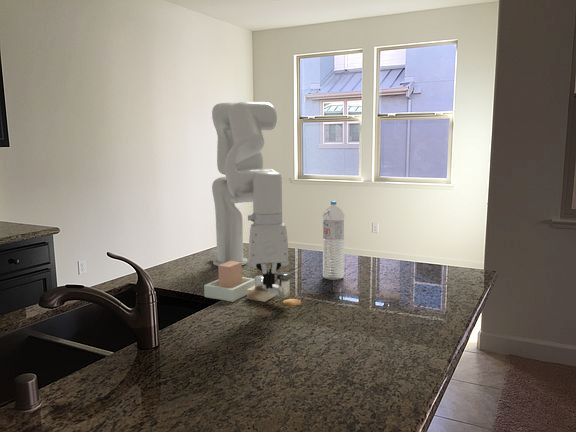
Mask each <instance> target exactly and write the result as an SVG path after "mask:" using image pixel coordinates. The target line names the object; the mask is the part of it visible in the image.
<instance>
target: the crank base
mask: <svg viewBox="0 0 576 432" xmlns="http://www.w3.org/2000/svg"><path fill="white" fill-rule="evenodd" d="M275 297H277V295H276V294H273V293H270V292H268V291H265V290H262V289H256V288H255V286H253V287H251V288H249V289H247V295H246V299H248V300H253V301H257V302H258V301H259V302H264V303H265V302H268V301H269V300H271V299H272V298H275ZM282 303H283V305H285V306H292V307H293V306H299V305H301V303H302V301H301V300H300V299H297V298H289V299H288V298H287V299H285V300H283V301H282Z"/></svg>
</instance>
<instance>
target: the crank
mask: <svg viewBox="0 0 576 432" xmlns="http://www.w3.org/2000/svg"><path fill="white" fill-rule="evenodd" d="M275 274H276V275H275V277H276V278H275V279H277V280H278V281H277V283H275V284H272V288H268V289H266V285H263V275H256V276H254V279H255V288H256V289H262V290H265V291H268V292H270V293H273V294H276V296H278V297H280V298H289V297H290V294H291V293H290V288H291V286H290V285H291V284H290V279H292V273H291V272H288V271H287V272H286V271H280V272H276V273H275Z"/></svg>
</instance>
